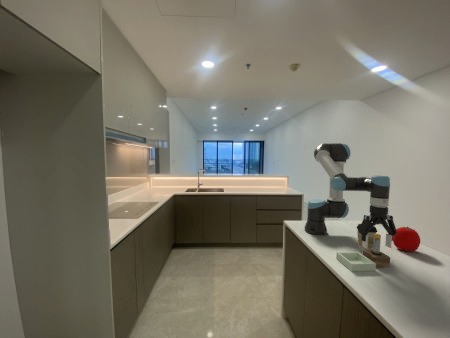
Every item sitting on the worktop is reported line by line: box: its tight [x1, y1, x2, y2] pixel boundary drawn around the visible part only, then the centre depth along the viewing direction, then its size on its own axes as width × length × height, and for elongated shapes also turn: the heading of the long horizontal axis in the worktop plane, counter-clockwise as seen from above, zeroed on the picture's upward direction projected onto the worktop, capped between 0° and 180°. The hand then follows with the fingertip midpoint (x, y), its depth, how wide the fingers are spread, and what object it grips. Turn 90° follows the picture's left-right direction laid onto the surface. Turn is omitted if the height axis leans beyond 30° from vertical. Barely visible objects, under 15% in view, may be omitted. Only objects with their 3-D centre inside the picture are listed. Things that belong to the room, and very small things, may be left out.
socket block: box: [362, 250, 391, 268], centre depth 103 cm, size 8×8×5 cm
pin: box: [373, 233, 382, 256], centre depth 102 cm, size 3×3×15 cm
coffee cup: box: [356, 223, 378, 253], centre depth 115 cm, size 10×10×15 cm
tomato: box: [392, 226, 421, 253], centre depth 118 cm, size 13×11×14 cm
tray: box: [335, 251, 377, 272], centre depth 101 cm, size 12×12×4 cm
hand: (376, 247), depth 102 cm, fingers open, 12 cm apart
